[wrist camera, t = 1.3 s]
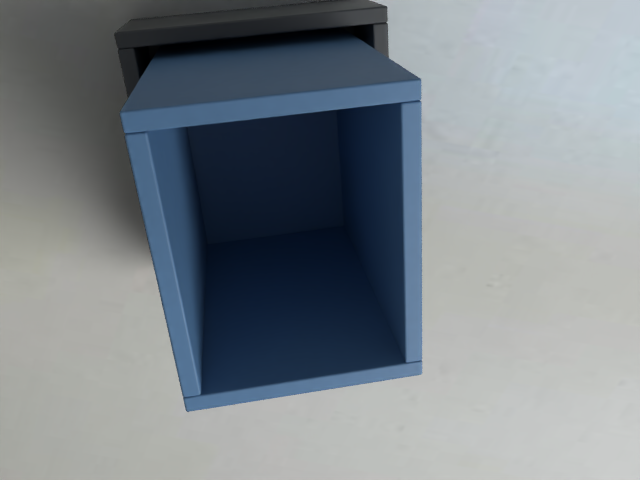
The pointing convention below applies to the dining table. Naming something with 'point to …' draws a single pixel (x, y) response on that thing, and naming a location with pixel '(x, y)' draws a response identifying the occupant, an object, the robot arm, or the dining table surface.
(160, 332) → the dining table surface
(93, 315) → the dining table surface
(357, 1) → the charcoal bin
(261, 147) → the blue bin
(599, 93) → the dining table surface
